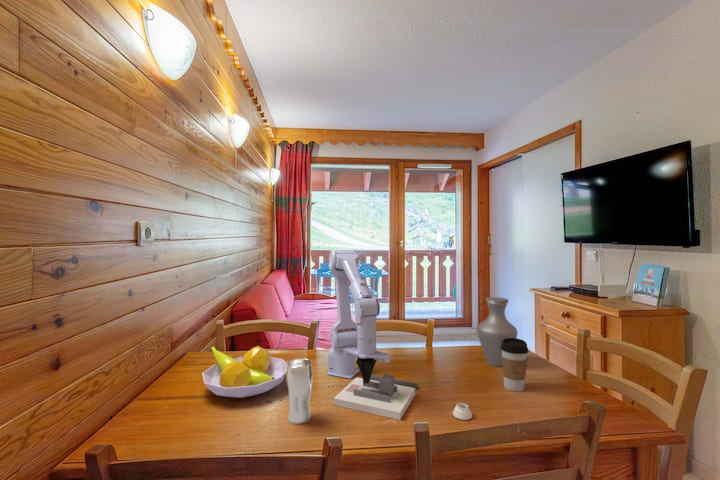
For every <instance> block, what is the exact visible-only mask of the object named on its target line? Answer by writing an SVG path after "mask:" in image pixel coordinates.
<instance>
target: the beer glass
mask: <svg viewBox="0 0 720 480" xmlns="http://www.w3.org/2000/svg"><path fill="white" fill-rule="evenodd" d="M286 363H287V373H286V375H285V376H286V377H285V379H286V381H285V382H286V383H285V384H286V391H287V396H288V401H289V410H288V411H289V412H288V417H287V420H288V422H290V423H291V424H294V425H302V424H305V423H307V422H309V421H310V420H311V418H312V415H311V414H312V413H311V407H310V404H311V403H310V402H311V396H312V395H311V394H312V390H313V389H312V388H313V380H314V377H313V376H314V375H313V374H314V373H313V362H312V360H311V359H308V358H303V357H302V358H294V359H291V360H289V361H288V362H286Z"/></svg>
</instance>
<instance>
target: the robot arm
mask: <svg viewBox="0 0 720 480" xmlns="http://www.w3.org/2000/svg"><path fill="white" fill-rule="evenodd" d="M328 263H329V264H328V265H329V272H330V274H332V275H333V276H334V283H335V297H336V311H337V321H336V322H335V323H334V324H333V325H332V326H331V329H330V345H331V347H330V348H329V350H328V354H327V372H326V374H327V375H328V376H332V377H333V376H334V377H339V378H345V379H352V378H354V376H356V375H357V374H359V372H360V374H361V377H362V378H363V383H367V384H368V383H369V382H370V378H371V375H372V374H373V370H374V368H375V365H376V363H377V361H380V362H385V363H387V364H388V363H389V362H391V354H390V353H385V352H382V351H381V350H379V351H378V350H377V317H378V316H379V315H380V312H381V307H380V306H381V305H380V301H379V298H378V297H377V296H375V295H374V294H372V291H371V290H370V287H369V286H368V285H369V284H368V283H367V280H365V279H363V278H362V276H361V273H360V269H359V263H360V254H359V251H358V250H357V249H336V250H335V249H332V250H331V251H330V252H329V257H328ZM349 281H350V285H349ZM350 292H351V295H352V299H353V301H354V308H353V309H354V314H355V321H354V320H352V311H351V310H352V309H351V298H350V297H351V296H350ZM356 358H357V359H356ZM356 365H357V367H358V368H357V367H356Z"/></svg>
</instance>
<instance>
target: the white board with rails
mask: <svg viewBox="0 0 720 480" xmlns="http://www.w3.org/2000/svg"><path fill="white" fill-rule="evenodd" d="M382 377H383V376H379V375H372V374H371V378H370V382H369V383H368V384H367V383H363V378H361V377H355V378H354V379H353V380H352V381H351V382H349V384H347V385H346V386H345V387H344V388H343V389H342V390H341V391H340V392H339V393H338V394H337V395H335V396H334V397H333V405H334V406H337V407H341V408H346V409H350V410H354V411H357V412H358V411H360V412H363V413H367V414H371V415H376V416H381V417H384V418H388V419H389V418H390V419H393V420H399V421H401V419H402V417H403V415H404V414H405V413H406V410H407V409H408V408H409V406H410V404H411V403H412V401H413V399H414V397H415V396H416V389H418V388H419V384H418V383H417V382H413V381H407V380H401V379H396V378H394V393H393V395H392V396H391V397H390V396H388V395H383V394H379V380H380V379H381V378H382Z"/></svg>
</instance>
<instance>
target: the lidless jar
mask: <svg viewBox="0 0 720 480" xmlns="http://www.w3.org/2000/svg"><path fill="white" fill-rule="evenodd" d="M452 415H453V417H455V418H456V419H458V420H463V421H468V420H470V419H472V418H473V414H472V412H471V409H470V408H469V405H468V404H466V403H462V402H458V403H457V404H456V405H455V407H454V409H453V411H452Z"/></svg>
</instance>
